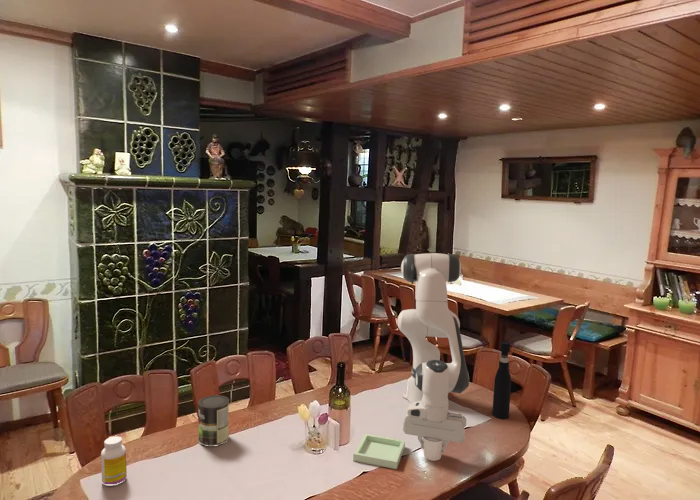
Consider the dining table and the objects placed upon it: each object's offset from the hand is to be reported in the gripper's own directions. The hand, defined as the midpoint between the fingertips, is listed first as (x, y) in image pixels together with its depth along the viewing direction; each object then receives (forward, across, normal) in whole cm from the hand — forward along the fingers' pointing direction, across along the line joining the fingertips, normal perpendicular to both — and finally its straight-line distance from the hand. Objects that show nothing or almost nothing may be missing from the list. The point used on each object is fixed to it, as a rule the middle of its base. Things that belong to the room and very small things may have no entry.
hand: (432, 449), depth 163 cm
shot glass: (+2, 0, 0) cm, 2 cm away
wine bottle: (+2, -22, -40) cm, 46 cm away
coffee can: (+2, +74, +15) cm, 76 cm away
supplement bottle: (+2, +88, +46) cm, 99 cm away
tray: (+2, +17, +4) cm, 18 cm away
